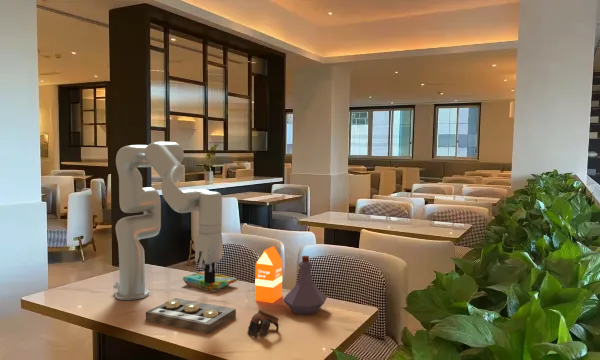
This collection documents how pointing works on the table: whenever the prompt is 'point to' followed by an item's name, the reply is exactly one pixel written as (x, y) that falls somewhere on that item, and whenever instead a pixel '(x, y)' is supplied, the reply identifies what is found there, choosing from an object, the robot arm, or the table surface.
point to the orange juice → (268, 276)
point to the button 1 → (172, 305)
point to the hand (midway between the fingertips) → (209, 282)
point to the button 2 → (210, 313)
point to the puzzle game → (198, 281)
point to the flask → (305, 292)
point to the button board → (191, 316)
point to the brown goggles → (262, 323)
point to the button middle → (191, 308)
